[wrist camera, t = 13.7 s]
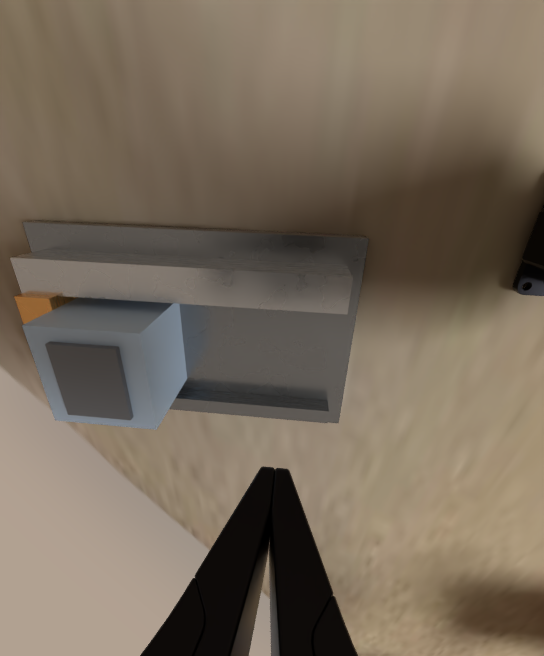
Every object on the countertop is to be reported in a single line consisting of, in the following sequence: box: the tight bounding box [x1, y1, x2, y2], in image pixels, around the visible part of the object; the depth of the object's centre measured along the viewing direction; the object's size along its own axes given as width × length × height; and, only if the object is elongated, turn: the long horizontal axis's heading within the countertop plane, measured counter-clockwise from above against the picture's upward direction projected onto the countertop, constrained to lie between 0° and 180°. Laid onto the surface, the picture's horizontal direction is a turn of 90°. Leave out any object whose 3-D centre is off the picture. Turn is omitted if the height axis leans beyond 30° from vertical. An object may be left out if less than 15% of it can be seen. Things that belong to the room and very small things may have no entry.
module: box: [22, 297, 187, 430], centre depth 18 cm, size 6×6×5 cm
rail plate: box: [10, 221, 369, 423], centre depth 19 cm, size 20×13×4 cm, turn 88°
